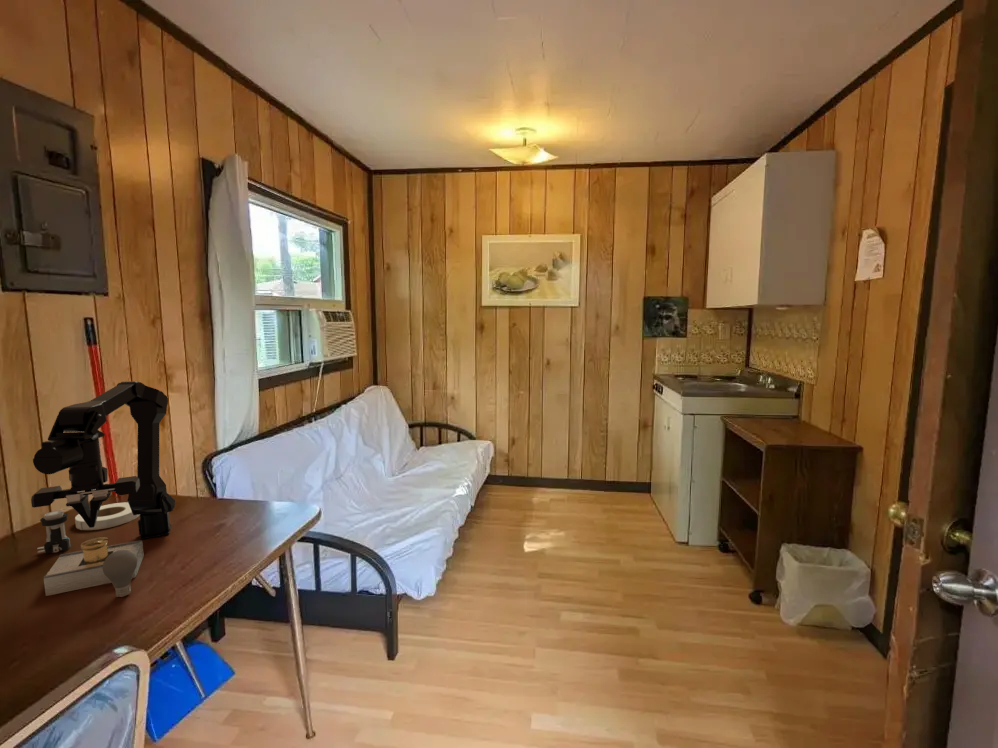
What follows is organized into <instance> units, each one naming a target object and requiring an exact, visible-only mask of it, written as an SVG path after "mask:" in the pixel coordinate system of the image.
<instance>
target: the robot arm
mask: <svg viewBox="0 0 998 748" xmlns="http://www.w3.org/2000/svg"><path fill="white" fill-rule="evenodd" d="M168 404H169V398H168V396H167V395H166V394H165V393H164V391H161V390H160V389H157V388H154V387H151V386H149V385H148V386H147V385H146V384H144V383H143V382H140V381H136V380H135V381H132V380H131V381H121V382H118V383H117V384H116V386H114V387H112V388H110V389H108V390H106V391H105V392H103V393H101V394H100V395H98V396H96V397H94V398H92V399H91V400H89V401H86V402H81V403H80V402H79V403H74V404H70V405H68V406H65V407H62V408H61V409H60V410H59V411H58V414H57V416H56V418H55V420H54V423H53V425H52V428H51V430H50V432H49V435H48V437H47V440H46V441H42V442H41V448H40V449H38V450H37V451H36V452H35V454H34V456H33V458H32V463H33V466H34V468H35V469H36V471H38V472H39V473H41V474H44V475H53V474H57V473H59V472H62V471H64V470H66V469H68V480H69V482H70V486H71V487H70V488H66V489H62V487H61V485H57V486H48V487H40V489H38V490H37V491H36V492H35V493H34V494H33V495H32V496H31V499H30V503H31V508H41V507H49V506H51V505H52V504H53V503H54V502H55V500H61V499H66V503H65V506H66V507H71V508H73V510H74V511H75V512H76V513H78V514H80V516H81V517H82V518H83V519H84V521H85V522H86V524H87V525H88V526H89V528H92V527H94V526H95V524H96V520H97V517H98V513H99V510H100V507H101V506H102V504H103V502H106V501H107V500H108V499H109V498H110V497H111V495H112V492H115V494H116V495H118V496H123V495H124V496H125V495H128V497H127V502H128V503H129V506H130V508H131V511H132V513H133V515H139V517H138V520H137V526H138V534H139V536H140V540H144V539H150V538H156V537H161V536H166V535H169V534H170V532H171V528H172V524H171V523H170V512H173V511H174V509H175V505H176V500H175V499H174V498H173V497H172V496H171V495H170V494H169V493H168V491H167V484H166V483H165V482H164V480H163V479H162V477H161V476H160V424H161V422H162V420H163V419H164V417H165V416H166V415H167V411H168V409H167V408H168ZM123 406H126V407H129V412H130V416H131V418H132V419H133V420H134V421H135V423H136V424H137V456H136V457H137V462H136V463H137V476H136V475H132V476H124V477H118V478H117V480H116V481H115V482H112V483H111V482H110V483H107V482H108V468H107V467H105V466H103V461H102V458H101V457H102V456H101V448H100V438H102V437H103V438H104V437H105V433H104V432H103V431H100V430H99V429H100V428H101V427H102V426H103V425H104V424H105V423H106V422H107V421H108V419H107V417H108V416H109V415H110V414H112V413H113V412H115V411H116V410H118V409H119V408H121V407H123ZM89 495H92V496H93V497H92V498H91V499H90V501H89Z"/></svg>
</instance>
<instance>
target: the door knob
mask: <svg viewBox="0 0 998 748" xmlns="http://www.w3.org/2000/svg"><path fill="white" fill-rule="evenodd" d="M108 544H109V538H108V537H106V536H105V537H103V536H102V537H95V538H91V539H90V538H89V539H88V540H85V541H84V542H82V543H81V544H80V549H81V551H82V550H83V555H84V563H85V565H88V564H93V563H98V562H104V561H105V559H106V558H107V557H108V549H107V546H108Z"/></svg>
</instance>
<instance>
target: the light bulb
mask: <svg viewBox="0 0 998 748" xmlns="http://www.w3.org/2000/svg"><path fill="white" fill-rule="evenodd" d="M136 566H137V557H136V556H135V554H134V553H132V552H131V551H128V550H118V551H115V552H113V553H111V554H110V555H109V556H108V557H107V558H106V559H105V561H104V563H103V567H102V569H103V572H104V574H105V576H107V578H109V579H110V580H111V581H112V586H113V588H114V589H115V590H114V591H115V597H116V598H118V597H119V598H120V597H121V598H123V597H125V596H128V595H129V594H131V592H132V590H131V583H132V579H133V578H132V574H133V572H134V571H135V568H136Z"/></svg>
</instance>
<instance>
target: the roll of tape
mask: <svg viewBox="0 0 998 748" xmlns="http://www.w3.org/2000/svg"><path fill="white" fill-rule="evenodd" d="M139 517H140V515H133V513H132V511H131V508H130V506H129V503H128V501H127V502H125V501H124V502H117V503H115V502H114V503H109V504H105V505H104V504H103V505H101V507H100V510H99V513H98V517H97V520H96V524H95V526H94V527H92V528H89V526H88V525H87V524H86V522H85V521H84V519H83V518H82V517H81V516H80V514H79V513H78V514H77V515H75V517H74V521H75V528H76V529H77V530H80V531H93V530H94V531H96V530H103V529H108V528H112V527H113V528H114V527H117V526H121V525H123V524H126V523H129V522H132V521H134V520H136V519H137V518H139Z"/></svg>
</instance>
